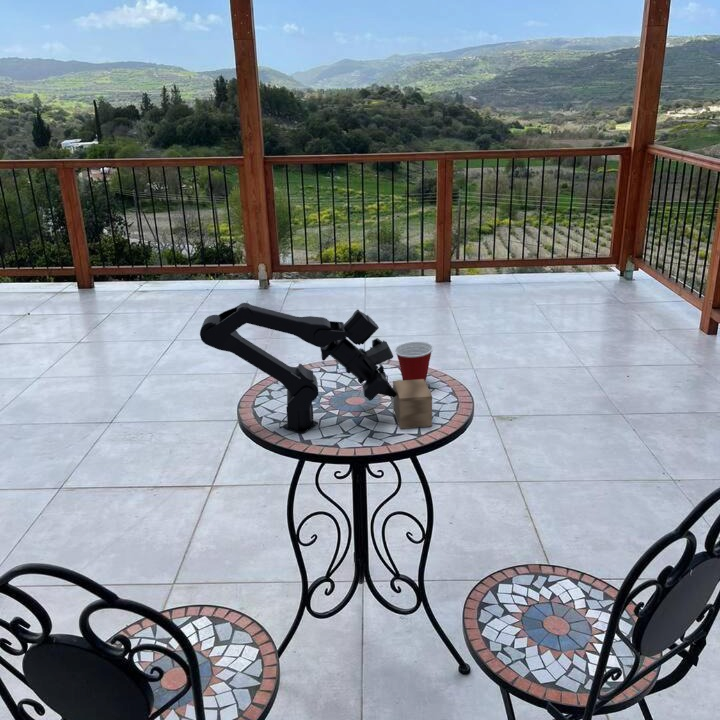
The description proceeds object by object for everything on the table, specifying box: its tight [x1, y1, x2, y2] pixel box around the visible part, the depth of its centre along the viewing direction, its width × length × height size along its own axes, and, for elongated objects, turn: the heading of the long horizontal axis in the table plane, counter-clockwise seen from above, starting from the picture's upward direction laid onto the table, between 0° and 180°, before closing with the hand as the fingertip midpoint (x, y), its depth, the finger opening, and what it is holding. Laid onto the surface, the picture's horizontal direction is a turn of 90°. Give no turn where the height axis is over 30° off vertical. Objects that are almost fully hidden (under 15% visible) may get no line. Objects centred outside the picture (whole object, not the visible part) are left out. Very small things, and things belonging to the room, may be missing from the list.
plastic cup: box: [393, 341, 434, 383], centre depth 190 cm, size 11×11×12 cm
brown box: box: [392, 379, 433, 429], centre depth 172 cm, size 8×11×8 cm
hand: (395, 395), depth 170 cm, fingers closed
